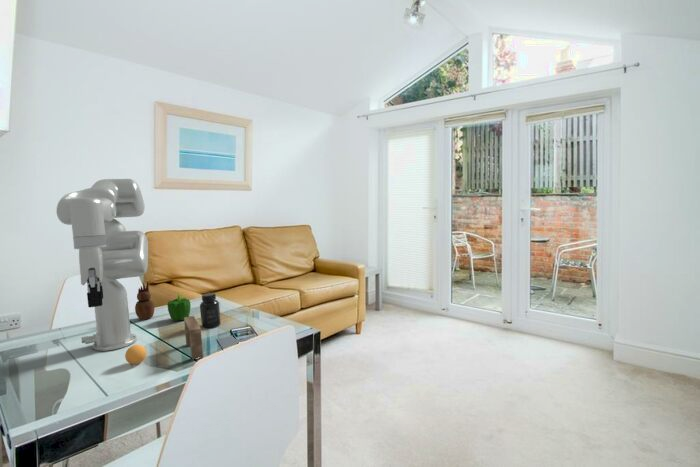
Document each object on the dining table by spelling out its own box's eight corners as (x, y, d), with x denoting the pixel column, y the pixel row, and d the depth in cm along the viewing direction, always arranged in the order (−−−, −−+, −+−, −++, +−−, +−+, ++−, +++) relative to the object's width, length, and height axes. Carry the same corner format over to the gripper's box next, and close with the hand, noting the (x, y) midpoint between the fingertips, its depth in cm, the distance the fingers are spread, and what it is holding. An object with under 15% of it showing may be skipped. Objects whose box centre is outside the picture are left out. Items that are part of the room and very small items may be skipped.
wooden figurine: (157, 315, 161) (154, 280, 159) (151, 320, 155) (147, 283, 153) (141, 316, 161) (137, 280, 159) (133, 321, 155) (130, 284, 153)
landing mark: (224, 351, 122) (224, 350, 122) (216, 339, 132) (216, 338, 132) (261, 343, 127) (261, 342, 127) (251, 332, 138) (251, 331, 138)
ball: (126, 369, 111) (124, 350, 111) (126, 362, 116) (124, 344, 116) (147, 364, 114) (145, 346, 113) (146, 357, 119) (145, 340, 118)
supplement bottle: (223, 322, 149) (221, 292, 148) (216, 328, 143) (213, 296, 141) (206, 322, 150) (204, 292, 149) (198, 328, 143) (195, 297, 142)
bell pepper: (182, 323, 150) (180, 298, 149) (164, 322, 152) (162, 297, 151) (196, 316, 158) (194, 292, 157) (179, 315, 160) (177, 291, 159)
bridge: (192, 360, 116) (190, 330, 115) (186, 344, 128) (184, 317, 127) (203, 357, 117) (200, 328, 116) (195, 342, 130) (193, 315, 129)
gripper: (76, 241, 113) (82, 299, 115) (70, 245, 99) (77, 312, 100) (106, 239, 117) (112, 295, 119) (105, 243, 102) (111, 306, 104)
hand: (96, 302), depth 109 cm, fingers open, 9 cm apart
